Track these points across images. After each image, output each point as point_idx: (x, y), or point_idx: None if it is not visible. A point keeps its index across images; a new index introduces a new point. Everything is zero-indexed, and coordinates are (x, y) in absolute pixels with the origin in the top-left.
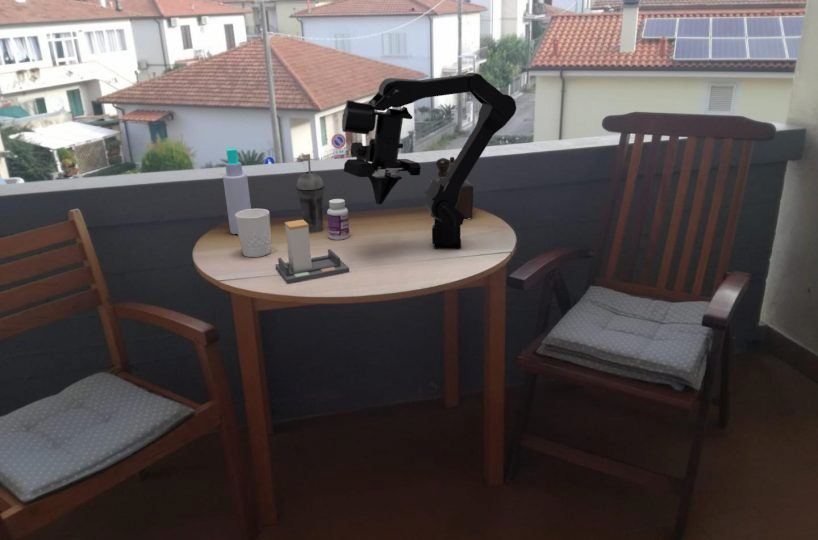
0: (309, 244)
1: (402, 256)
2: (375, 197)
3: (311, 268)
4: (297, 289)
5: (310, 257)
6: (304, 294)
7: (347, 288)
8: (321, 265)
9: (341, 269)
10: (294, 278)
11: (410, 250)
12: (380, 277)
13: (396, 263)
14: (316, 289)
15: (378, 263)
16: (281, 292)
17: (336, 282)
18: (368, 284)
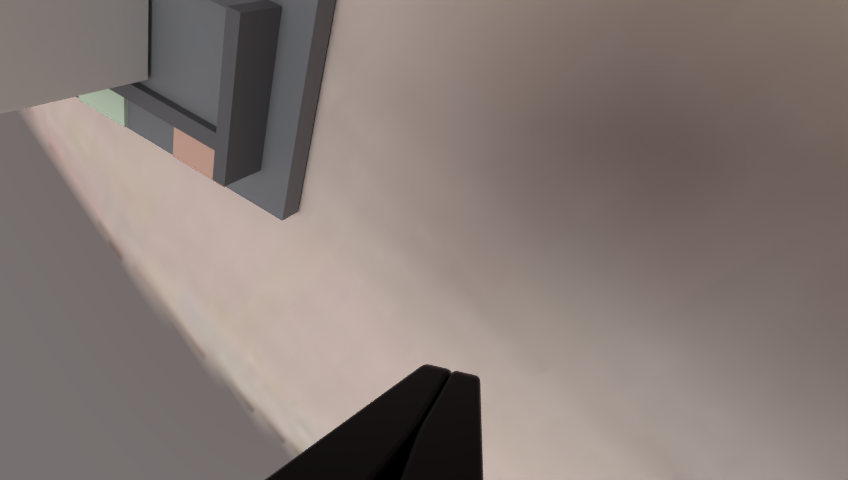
0: (8, 110)
1: (655, 333)
2: (357, 426)
3: (145, 78)
4: (92, 156)
5: (87, 91)
6: (101, 211)
7: (221, 311)
8: (198, 74)
9: (250, 199)
10: (78, 96)
11: (812, 326)
12: (361, 369)
13: (533, 355)
14: (140, 218)
15: (467, 267)
16: (49, 127)
17: (213, 239)
18: (290, 360)
